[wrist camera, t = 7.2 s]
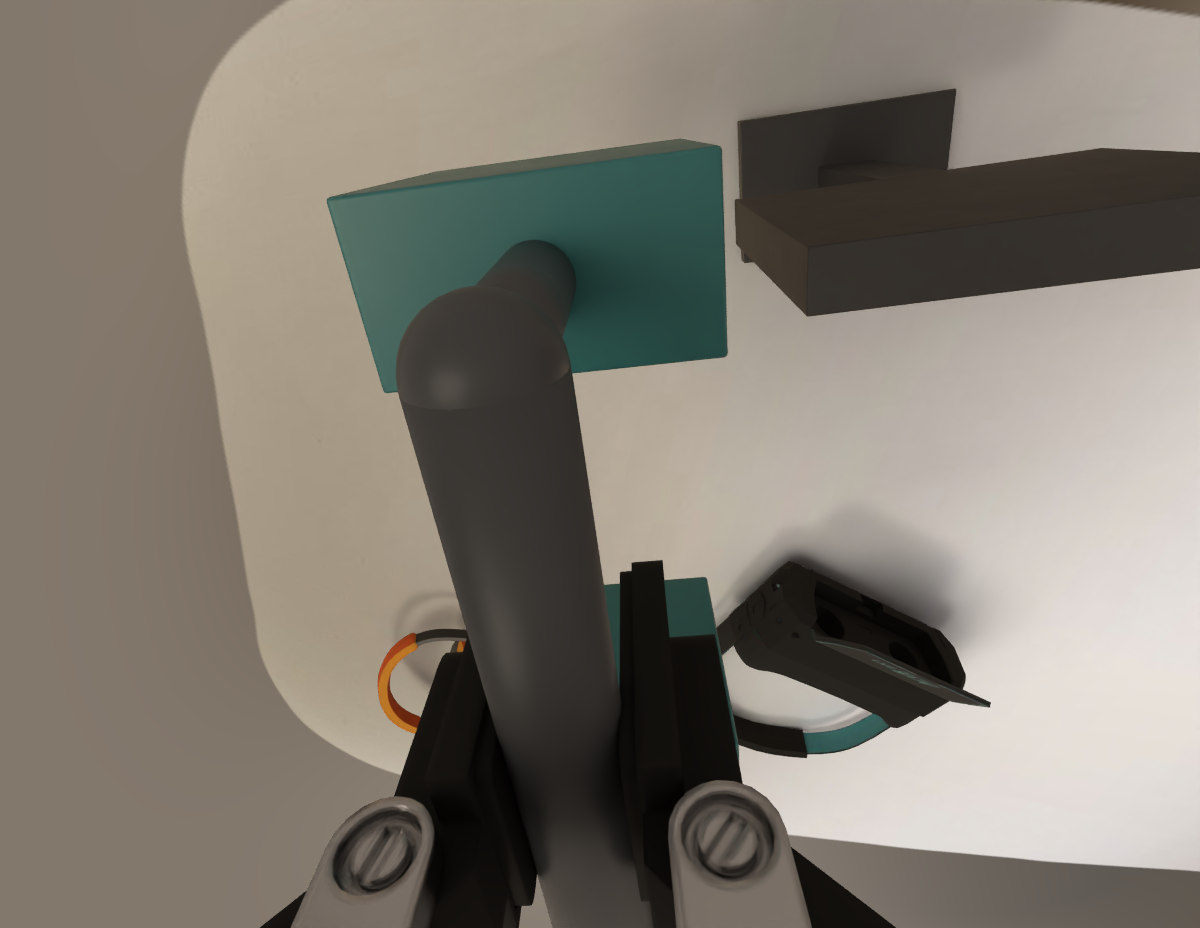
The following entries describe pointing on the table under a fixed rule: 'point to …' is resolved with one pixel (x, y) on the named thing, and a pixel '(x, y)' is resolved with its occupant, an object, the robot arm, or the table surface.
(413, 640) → the headphones
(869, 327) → the table surface
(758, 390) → the table surface
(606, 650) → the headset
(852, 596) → the virtual reality headset
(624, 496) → the table surface
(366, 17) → the table surface
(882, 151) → the monitor
